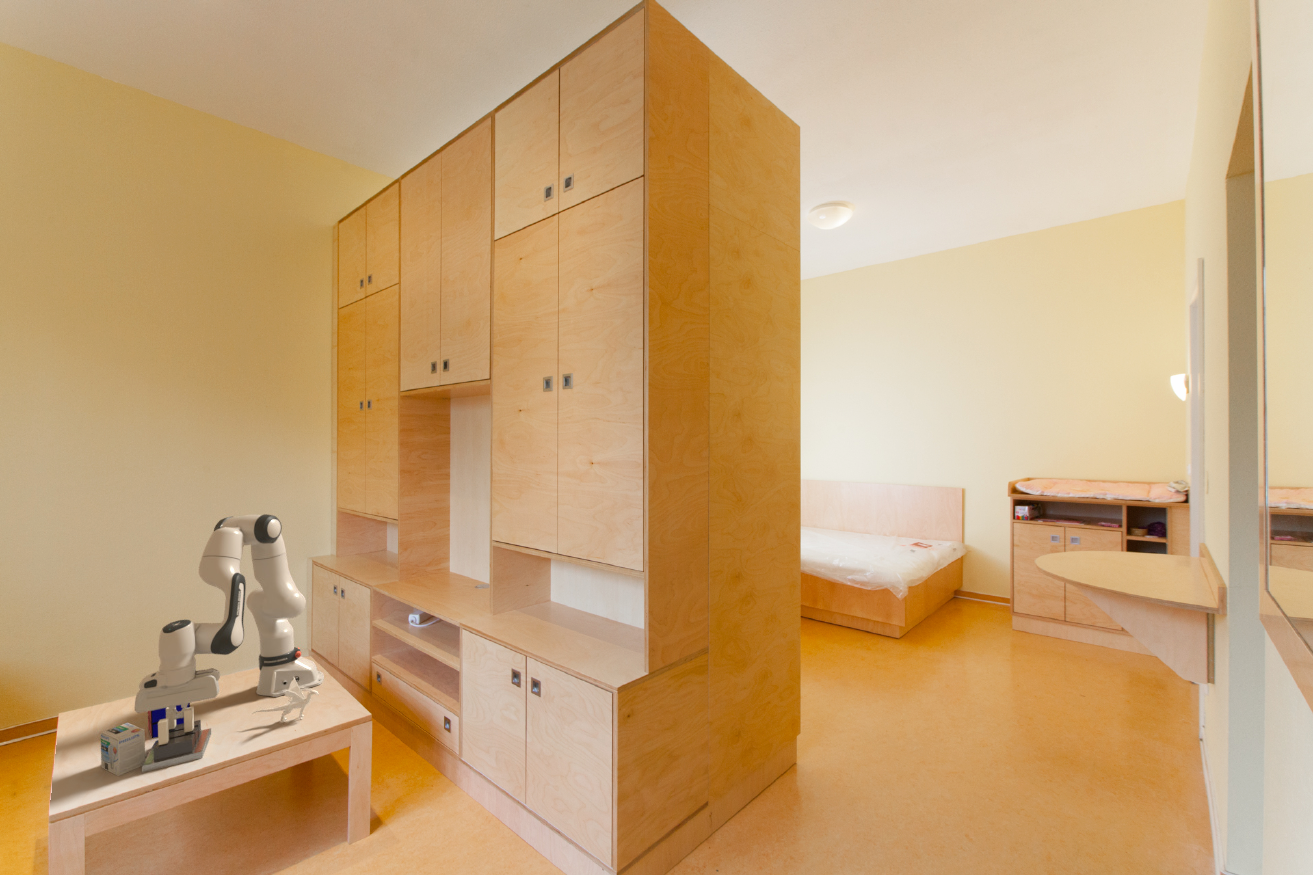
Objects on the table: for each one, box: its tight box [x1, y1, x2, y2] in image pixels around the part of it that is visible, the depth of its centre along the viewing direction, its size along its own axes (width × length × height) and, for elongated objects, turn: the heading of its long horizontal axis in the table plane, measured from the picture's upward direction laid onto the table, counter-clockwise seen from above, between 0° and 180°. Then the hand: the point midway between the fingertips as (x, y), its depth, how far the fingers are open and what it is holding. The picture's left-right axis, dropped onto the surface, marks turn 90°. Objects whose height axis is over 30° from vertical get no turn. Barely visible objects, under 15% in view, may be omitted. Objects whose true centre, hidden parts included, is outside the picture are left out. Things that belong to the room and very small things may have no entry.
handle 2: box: [166, 707, 176, 730], centre depth 180 cm, size 2×2×7 cm
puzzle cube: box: [147, 703, 191, 739], centre depth 192 cm, size 10×10×10 cm
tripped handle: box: [184, 706, 195, 733], centre depth 178 cm, size 2×2×7 cm
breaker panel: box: [141, 719, 212, 774], centre depth 177 cm, size 14×16×6 cm
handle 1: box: [157, 718, 169, 745], centre depth 171 cm, size 2×2×7 cm
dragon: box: [251, 678, 320, 723], centre depth 195 cm, size 11×20×13 cm, turn 111°
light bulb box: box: [99, 722, 146, 777], centre depth 170 cm, size 11×7×11 cm, turn 65°
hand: (179, 718), depth 177 cm, fingers closed
